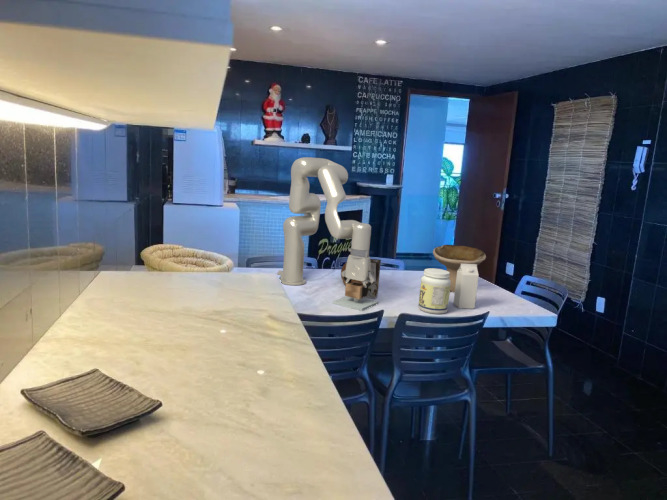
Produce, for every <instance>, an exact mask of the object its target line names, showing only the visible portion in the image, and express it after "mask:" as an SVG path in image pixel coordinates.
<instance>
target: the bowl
mask: <svg viewBox="0 0 667 500" xmlns="http://www.w3.org/2000/svg"><path fill="white" fill-rule="evenodd" d="M432 253H433V256H434V258H435V260H436V261H437V262H438V263H440V264H441V265H443V266H444V267H445V268H446V271H448V272H449V273H450V274H449V275H450V277H449V279H450V281H451V286H450V293H455V286H456V277H457V270H458V269H459V267H460V266H461V264H477V267H478V266H479V265H481V263H483V261H485V260H486V258H487V256H486V253H485V251H483V250H481V249H479V248H477V247H472V246H468V245H467V246H466V245H456V244H443V245H441V246H440V245H439V246H437V247H434V249H433V250H432Z"/></svg>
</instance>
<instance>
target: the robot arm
mask: <svg viewBox="0 0 667 500" xmlns="http://www.w3.org/2000/svg"><path fill="white" fill-rule="evenodd" d="M290 177H291V180H290V181H291V183H290V190H289V201H288V209H289V211H290V213H292V214H296V215H295V216H294V215H293V216H289V217H287V218H286V219H285V220H284V221H283V225H282V230H283V236H284V240H283V241H284V243H283V244H284V245H283V246H284V248H283V267H282V268H283V269H282V270H278V272H277V273H276V275H277V276H280V278H279V279H280V280H281V282H282V283H281V284H283V285H288V286H301V285H304V284H306V282H307V280H306V279H305V278H303V277H304V265H305V242H304V240H303V238H302V237H305V236H306V237H307V236H312V235H314V234H316V233H317V231H318V229H319V223H320V216H321V209H322V208H321V207H322V205H321V204H322V203H321V200H320V196H318V194H315V193H314V192H310V181H309V178H308V177H311V178H313V177H314V178H318V181H319V184H320V186H321V189H322V191H323V194H324V196H325V199H326V202H327V204H326V207H325V210H324V220H325V224H326V226H327V229H328V231H329V233H330V235H331V237H333V238H335V239H336V240H337V239H338V240H342V239H343V240H344V239H351V247H349V248H348V252H350V254H349V255H348V257H347V260H346V263H347V264H346V270H344V271H343V272H341V271H340V275H341V274H342V276H343V279H344V280H345V283H346V284H348V283H351V281H352V280H356V281H361V282H363V285H364V287H363V291H362V297H364V298H366V297H365V296H367V294H368V287H369V286H370V285H371V284H372V283H373V282H374V281H375V278H374V277H373V276H372V274H371V262H370V259H371V256H370V245H371V237H372V236H371V235H372V226H371V224H369V223H366V222H360V221H357V220H354V219H346V220H344V219H343V220H341V219H340V216H339V213H338V205H339V204H341V203H342V202H344V201H345V199H346V197H347V195H346V192H345V190H344V187H343V185H345V184H346V183H347V182H348V179H349V173H348V170H347V169H346V167H344V166H343V165H341V164H339V163H336V162H334V161H332V160H330V159H327V158H322V157H309V156H308V157H306V156H305V157H300V158H297V159H295V161H293V163H292V165H291V169H290ZM299 214H302V215H299ZM303 214H304V215H303ZM369 279H370V282H368V280H369Z"/></svg>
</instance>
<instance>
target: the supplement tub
mask: <svg viewBox="0 0 667 500" xmlns="http://www.w3.org/2000/svg"><path fill="white" fill-rule="evenodd" d="M423 271H424V272H423V275H422V276H421V278H420V285H419V286H420V287H419V295H418V305H417V306H418V308H419V309H418V310H420V311H422V312H424V313H428V314H432V315H442V314H445V313H447V312H448V310H449V303H450V302H449V301H450V293H451V292H450V286H451V281H450V279H449V277H450V275H449V274H450V273H449V272H448V271H447V269H446V270H445V269H442V268H433V267H432V268H425V269H424V270H423Z"/></svg>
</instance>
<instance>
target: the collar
mask: <svg viewBox="0 0 667 500" xmlns="http://www.w3.org/2000/svg"><path fill="white" fill-rule="evenodd" d="M363 287H364V285H363V283H359V282H355V281H354V282H351V283H348V284H346V285H345V287H344V288H345V290H344V291H345V292H344V297H346V296H348V297H352V298H356V299H361V298H367V297H366V296H365V297H362V291H363ZM367 296H368V294H367Z"/></svg>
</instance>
